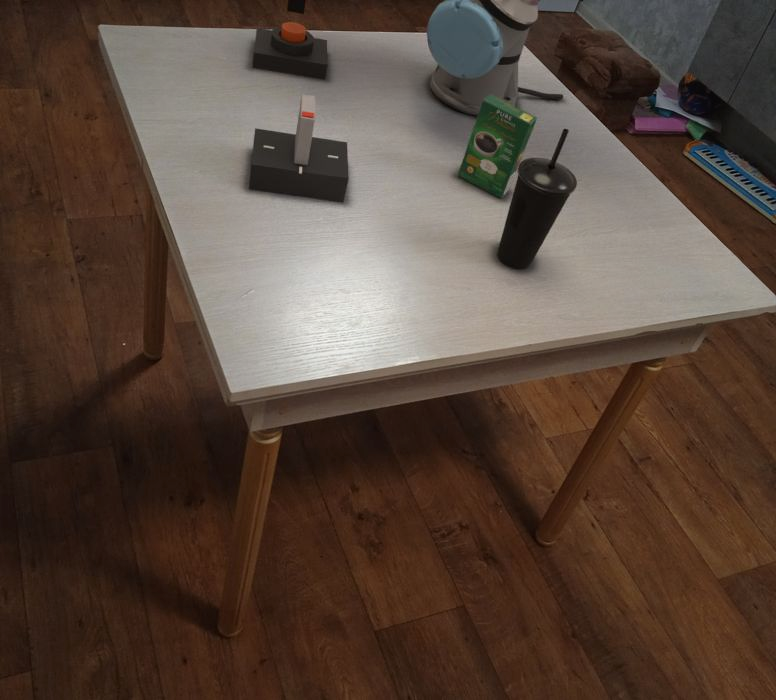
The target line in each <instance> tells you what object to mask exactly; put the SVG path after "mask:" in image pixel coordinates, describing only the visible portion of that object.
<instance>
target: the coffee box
mask: <svg viewBox="0 0 776 700" xmlns="http://www.w3.org/2000/svg"><path fill="white" fill-rule="evenodd" d="M537 120H538V116H535V115H533V114H530V113H529V112H527V111H526V110H523V109H521V108H520V107H517V106H516V105H515V106H513V105H511V104H509V103H507V102H506V101H504V100H502V99H500V98H498V97H496V96H494V95H492V94H490V95H489V96H487V97H486V98H485V99H484V100H483V102H482V105H481V108H480V111H479V114H478V116H477V117H476V120H475V123H474V125H473V128H472V131H471V134H470V137H469V140H468V143H467V147H466V150H465V152H464V155H463V158H462V160H461V163H460V167H459V170H458V172H457V177H459V178H461V179H463V180H465V181H466V182H468V183H471V184H473V185H475V186H477V187H479V188H480V189H482V190H485V191H487V192H488V193H489V194H491V195H493V196H496V197H497V198H499V199H503V198H504V197H505V195H507V193H508V192H509V190H510V188H511V185H512V182H513V181H514V177H515V175H516V172H517V171H518V167H519V164H520V163H521V160H522V158H523V155H524V153H525V150H526V147H527V145H528V143H529V140H530V138H531V136H532V133H533V130H534V128H535V125H536V123H537Z"/></svg>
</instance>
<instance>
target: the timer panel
mask: <svg viewBox="0 0 776 700" xmlns="http://www.w3.org/2000/svg"><path fill="white" fill-rule="evenodd" d="M253 135H254V137H253V145H252V154H251V161H250V162H251V163H250V172H249V182H248V190H252V191H260V192H267V193H273V194H274V193H275V194H282V195H288V196H295V197H301V198H302V197H303V198H310V199H318V200H325V201H331V202H341V203H344V202H345V199H346V198H345V197H346V192H347V188H348V183H349V178H350V177H349V155H348V154H349V153H348V151H349V150H348V142H347V141H341V140H335V139H329V138H322V137H321V138H320V137H314V136H312V140H311V146H310V152H309V158H308V165H302V164H295V163H294V154H295V137H296V133H288V132H282V131H276V130H269V129H263V128H256V127H255V128H254V134H253Z"/></svg>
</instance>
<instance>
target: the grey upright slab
mask: <svg viewBox="0 0 776 700" xmlns="http://www.w3.org/2000/svg"><path fill="white" fill-rule="evenodd" d="M315 121H316V96H314V95H308V94H301V96H300V102H299V110H298V116H297V123H296V131H295V134H296V137H295V154H294V163H295V164H302V165H308V158H309V152H310V146H311V140H312V137H313V133H314V126H315Z"/></svg>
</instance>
